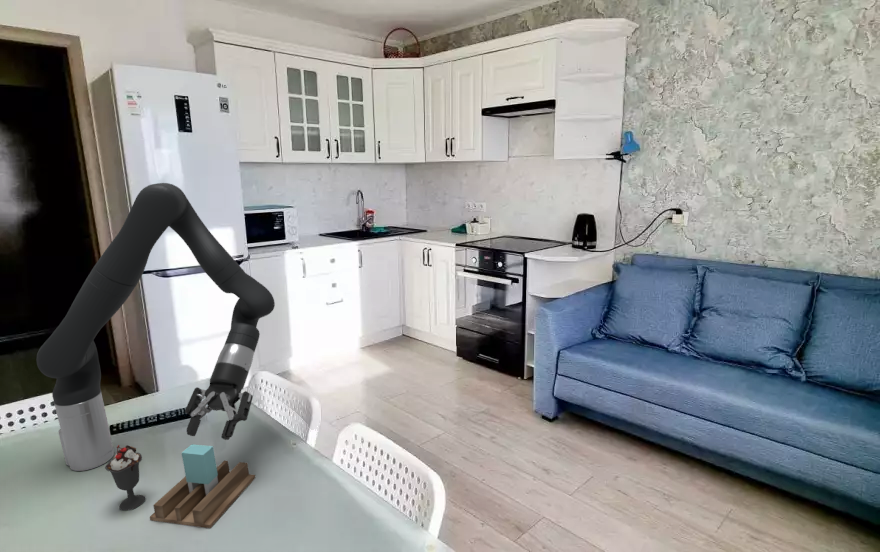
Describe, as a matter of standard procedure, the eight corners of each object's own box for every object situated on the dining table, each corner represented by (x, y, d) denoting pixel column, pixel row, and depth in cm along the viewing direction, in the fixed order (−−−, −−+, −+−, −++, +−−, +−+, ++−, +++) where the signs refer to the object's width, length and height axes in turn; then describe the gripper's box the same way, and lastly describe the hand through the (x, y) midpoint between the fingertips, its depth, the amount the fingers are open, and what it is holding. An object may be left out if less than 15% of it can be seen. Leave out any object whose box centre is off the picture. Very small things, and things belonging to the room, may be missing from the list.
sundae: (124, 517, 102) (110, 453, 98) (108, 506, 105) (94, 444, 102) (156, 498, 107) (144, 437, 104) (140, 489, 111) (127, 429, 107)
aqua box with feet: (189, 498, 106) (181, 452, 103) (199, 488, 109) (191, 444, 106) (210, 500, 105) (203, 455, 102) (220, 490, 108) (213, 446, 105)
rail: (150, 520, 101) (146, 504, 100) (201, 472, 116) (199, 457, 115) (210, 528, 98) (207, 512, 97) (255, 477, 113) (253, 463, 112)
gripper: (197, 359, 114) (168, 430, 106) (252, 362, 111) (227, 436, 103) (215, 370, 120) (189, 438, 112) (267, 374, 117) (245, 444, 109)
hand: (207, 437), depth 107 cm, fingers open, 8 cm apart
